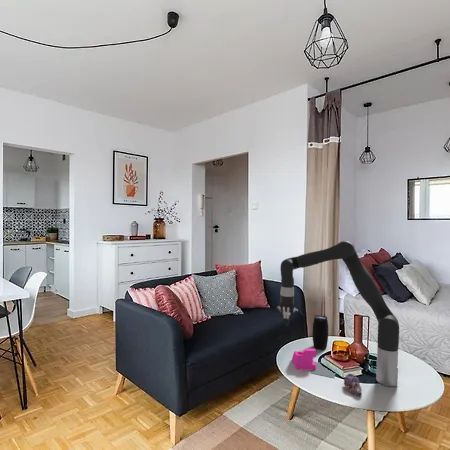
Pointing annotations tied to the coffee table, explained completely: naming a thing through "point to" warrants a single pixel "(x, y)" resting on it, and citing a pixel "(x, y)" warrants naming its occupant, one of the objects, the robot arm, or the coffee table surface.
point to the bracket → (304, 359)
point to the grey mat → (322, 371)
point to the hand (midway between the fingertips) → (286, 324)
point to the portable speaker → (320, 332)
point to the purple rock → (353, 384)
